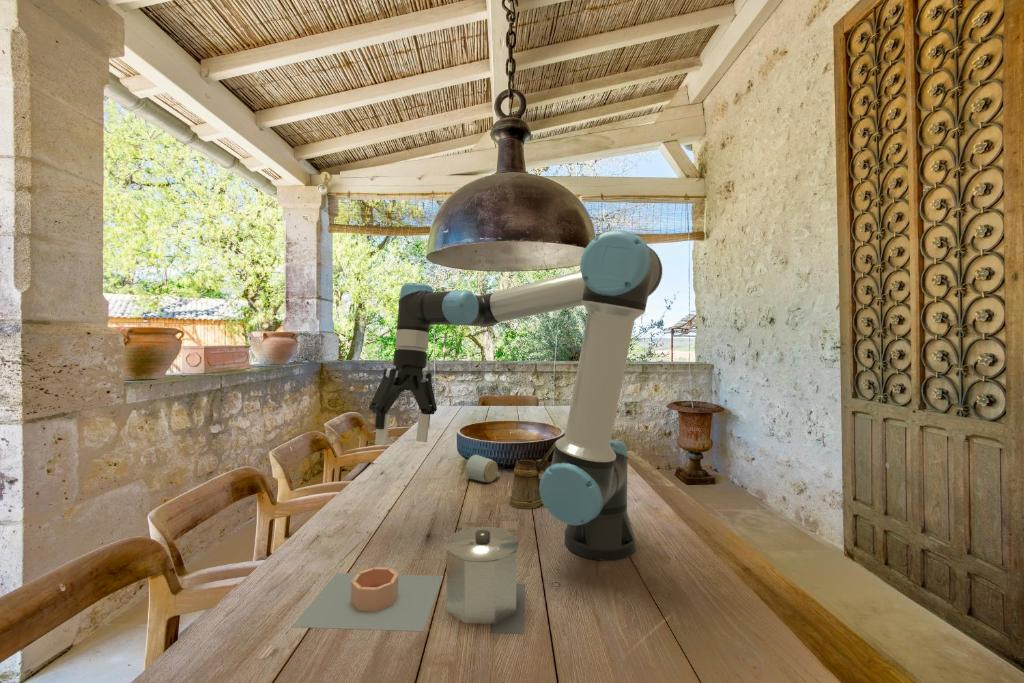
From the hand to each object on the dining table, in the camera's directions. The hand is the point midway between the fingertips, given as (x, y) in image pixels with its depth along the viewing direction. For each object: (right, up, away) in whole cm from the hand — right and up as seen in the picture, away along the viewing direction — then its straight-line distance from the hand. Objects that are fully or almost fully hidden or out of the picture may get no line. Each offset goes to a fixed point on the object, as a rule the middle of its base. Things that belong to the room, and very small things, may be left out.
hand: (402, 443), depth 103 cm
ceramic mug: (+16, -21, +43) cm, 50 cm away
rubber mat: (+20, -21, -28) cm, 40 cm away
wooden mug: (+31, -21, +21) cm, 43 cm away
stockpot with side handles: (+20, -21, -28) cm, 40 cm away
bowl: (+2, -20, -27) cm, 34 cm away
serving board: (+2, -21, -27) cm, 34 cm away
